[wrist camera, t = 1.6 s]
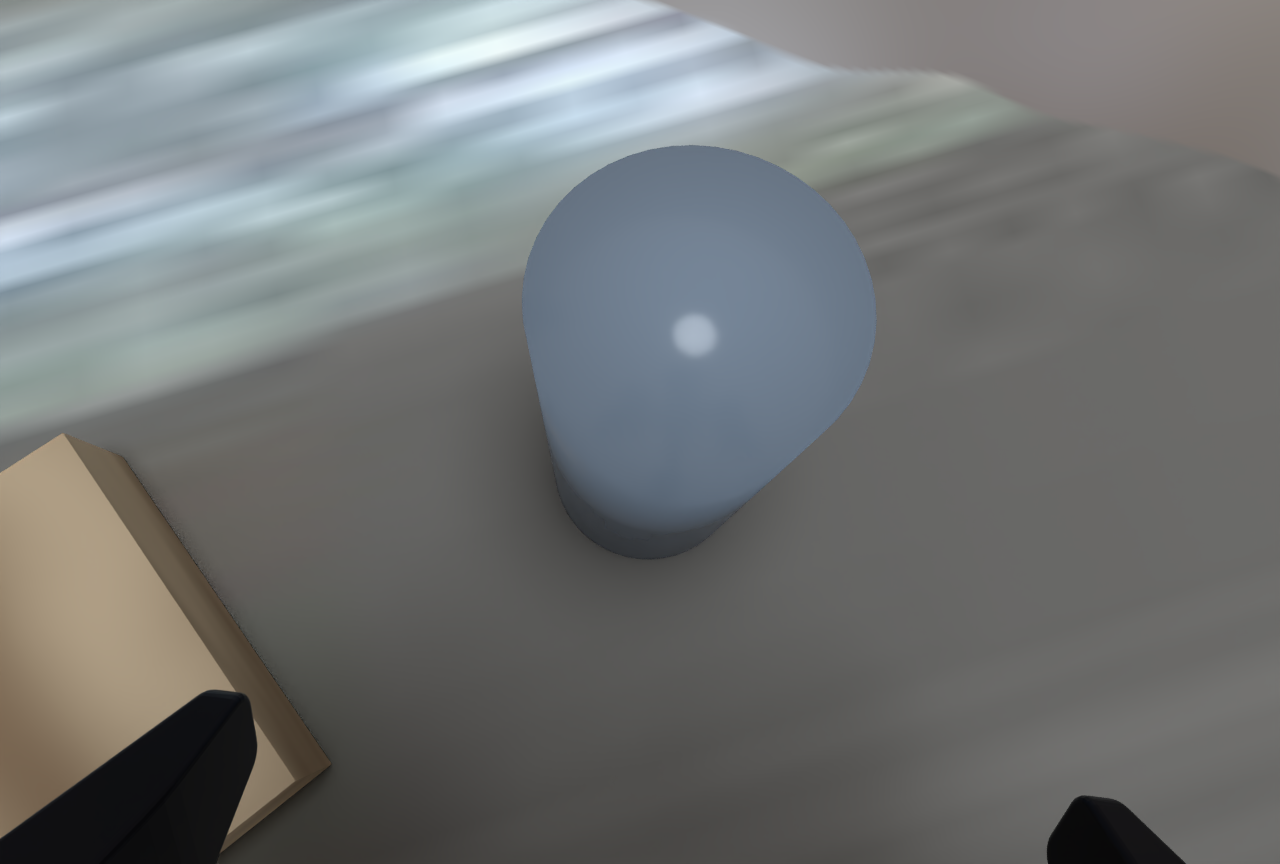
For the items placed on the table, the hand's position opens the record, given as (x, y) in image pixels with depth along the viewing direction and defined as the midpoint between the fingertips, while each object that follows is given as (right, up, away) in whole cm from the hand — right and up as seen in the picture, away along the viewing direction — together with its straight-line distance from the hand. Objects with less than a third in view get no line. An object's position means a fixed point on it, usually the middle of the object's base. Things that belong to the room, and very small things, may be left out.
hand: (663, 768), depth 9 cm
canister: (0, +3, +14) cm, 14 cm away
